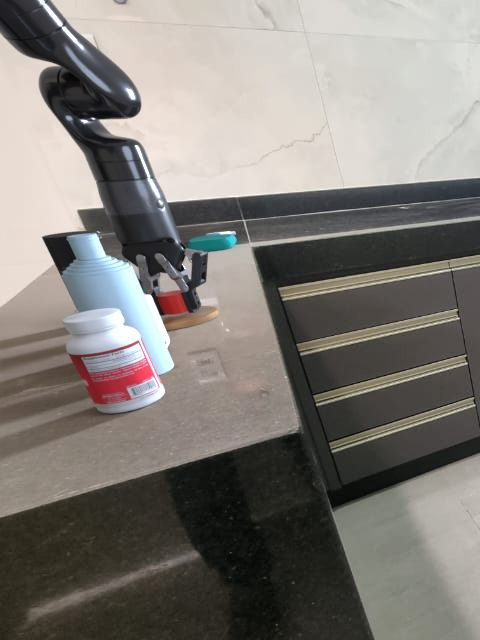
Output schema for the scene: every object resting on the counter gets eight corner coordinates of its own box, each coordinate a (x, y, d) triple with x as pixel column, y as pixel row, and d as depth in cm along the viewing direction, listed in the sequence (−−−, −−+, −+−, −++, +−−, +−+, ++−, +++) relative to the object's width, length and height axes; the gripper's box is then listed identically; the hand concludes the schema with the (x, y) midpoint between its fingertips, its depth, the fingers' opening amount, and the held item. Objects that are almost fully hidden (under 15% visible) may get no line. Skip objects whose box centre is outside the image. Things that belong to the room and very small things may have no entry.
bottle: (100, 386, 67) (28, 242, 60) (130, 366, 73) (68, 232, 65) (158, 379, 69) (95, 237, 61) (183, 360, 74) (129, 228, 67)
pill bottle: (112, 396, 64) (69, 310, 60) (174, 386, 66) (137, 302, 62) (87, 420, 59) (39, 327, 55) (155, 408, 61) (114, 318, 57)
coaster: (131, 333, 85) (129, 328, 85) (165, 314, 94) (163, 309, 94) (202, 326, 87) (200, 321, 87) (229, 308, 96) (227, 303, 96)
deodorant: (108, 316, 94) (69, 231, 88) (140, 315, 94) (102, 230, 88) (74, 327, 89) (30, 238, 83) (108, 327, 88) (66, 237, 82)
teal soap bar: (187, 253, 143) (200, 241, 163) (235, 248, 148) (242, 236, 168) (182, 242, 142) (196, 231, 162) (231, 237, 147) (239, 227, 167)
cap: (197, 309, 90) (190, 291, 89) (168, 316, 87) (161, 298, 86) (188, 306, 92) (181, 288, 91) (160, 312, 89) (152, 294, 88)
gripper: (201, 203, 88) (236, 302, 95) (100, 209, 85) (144, 310, 92) (178, 209, 81) (217, 315, 88) (67, 216, 78) (117, 324, 85)
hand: (179, 312), depth 90 cm, fingers closed on cap, 3 cm apart
